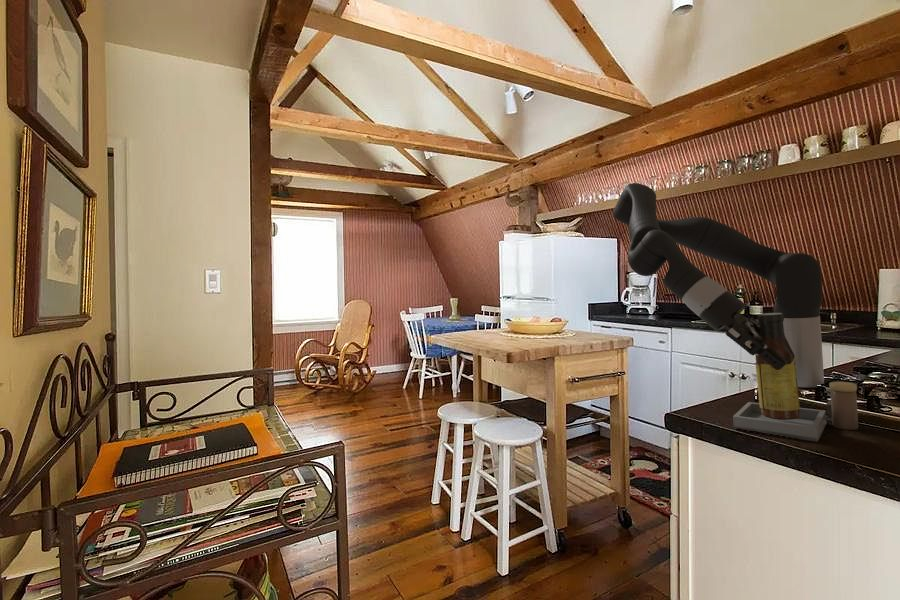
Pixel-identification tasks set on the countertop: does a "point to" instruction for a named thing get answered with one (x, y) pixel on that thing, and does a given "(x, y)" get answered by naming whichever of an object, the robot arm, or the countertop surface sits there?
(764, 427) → the tray
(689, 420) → the countertop surface
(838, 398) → the lidded beige canister
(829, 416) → the tray
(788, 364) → the sauce bottle
